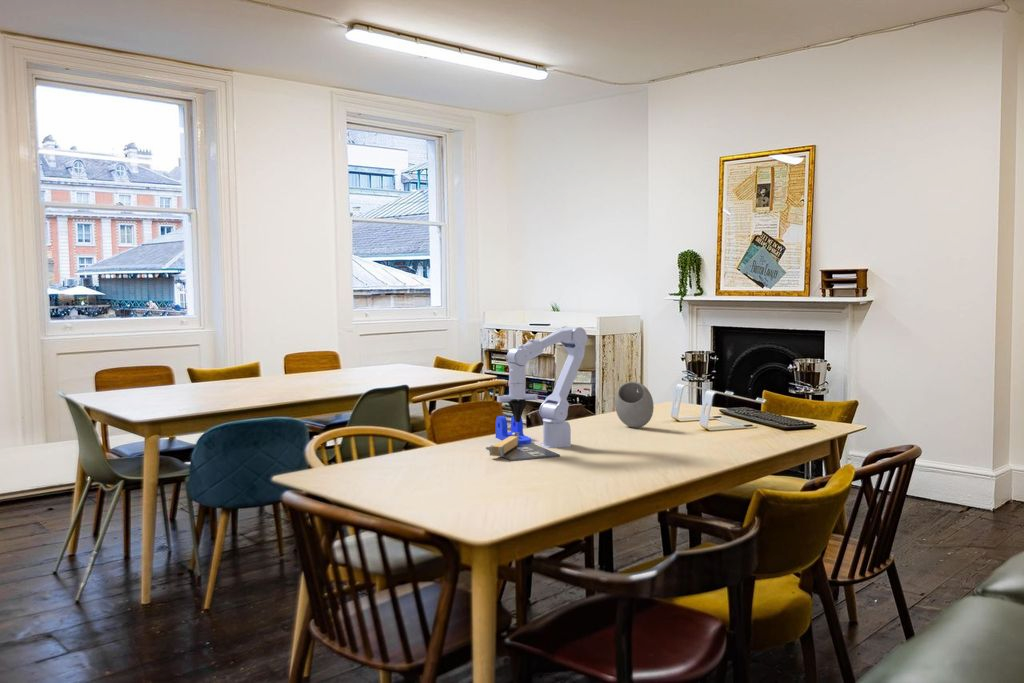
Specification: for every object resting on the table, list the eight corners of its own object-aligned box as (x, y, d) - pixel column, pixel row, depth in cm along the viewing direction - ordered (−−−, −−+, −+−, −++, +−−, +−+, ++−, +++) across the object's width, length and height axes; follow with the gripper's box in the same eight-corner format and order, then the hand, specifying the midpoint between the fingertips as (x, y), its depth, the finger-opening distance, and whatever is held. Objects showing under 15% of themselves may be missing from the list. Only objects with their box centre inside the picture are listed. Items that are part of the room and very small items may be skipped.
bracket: (495, 438, 314) (495, 414, 313) (515, 436, 317) (515, 413, 316) (513, 447, 297) (513, 422, 296) (534, 445, 300) (534, 420, 300)
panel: (531, 445, 298) (531, 430, 298) (559, 457, 278) (559, 441, 277) (485, 449, 291) (485, 434, 291) (510, 462, 271) (510, 445, 270)
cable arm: (508, 444, 293) (507, 435, 293) (519, 445, 292) (519, 436, 291) (489, 455, 274) (489, 446, 274) (502, 456, 273) (502, 447, 272)
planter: (610, 426, 339) (610, 380, 338) (620, 423, 345) (620, 379, 343) (647, 431, 327) (648, 384, 325) (657, 429, 332) (658, 382, 330)
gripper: (531, 380, 294) (531, 418, 295) (493, 382, 288) (493, 421, 289) (539, 382, 288) (539, 421, 288) (501, 384, 282) (501, 424, 283)
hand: (517, 421), depth 288 cm, fingers closed
